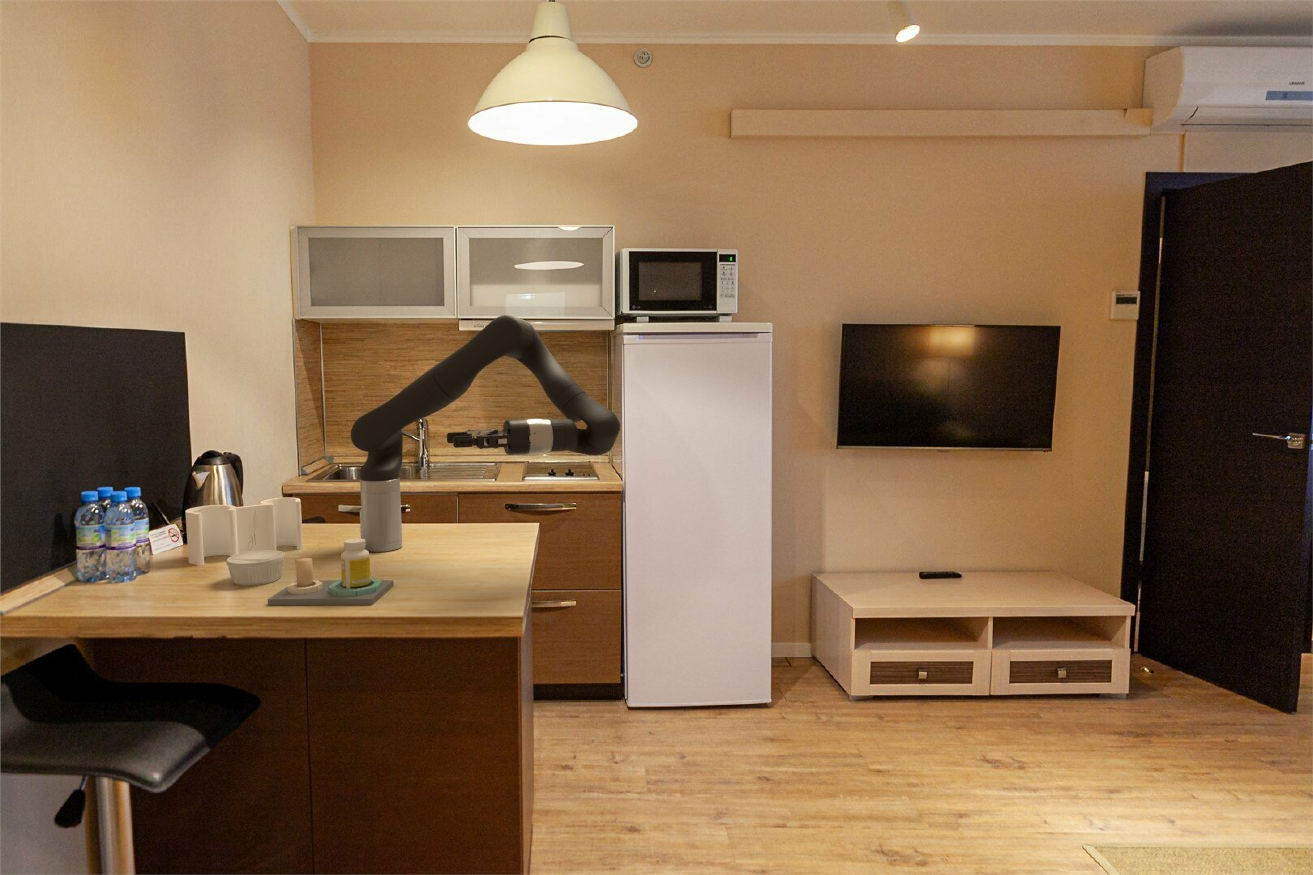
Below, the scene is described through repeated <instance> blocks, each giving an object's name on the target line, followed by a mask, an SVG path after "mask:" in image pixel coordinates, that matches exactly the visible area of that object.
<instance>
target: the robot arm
mask: <svg viewBox="0 0 1313 875" xmlns="http://www.w3.org/2000/svg"><path fill="white" fill-rule="evenodd" d="M502 357H508V358H511V359H515V360H517V361H518V362H519V363H521V364H522V365H523V366H524V367H526V369H528V370H529V371H530V372H531V373H532V374H533V375H534V377H535V378H536V379H537V381H538V383H539V384H540V386H541V388H542V390H543V391H544V393H545V395H546V397H548V399H549V400H550V401H551V403H552V404H553V406H555V407H556V408H557V409H558V411H559V412H560V413H561V414H562V415H563V416H564V417H565V418H519V419H518V418H515V419H506V420H505V421H504V422H503V425H502V430H499V429H498V428H495V427H487V428H475V429H467V430H465V431H456V432H455V431H453V432H452V431H451V432H447V433H446V442H447V443H448V444H452V445H453V447H454V448H455V449H458V448H460V449H461V448H475V449H479V450H483V449H484V450H485V449H499V448H503V449H504V452H505V454H506V455H507V456H520V455H522V456H523V455H536V454H537V455H539V454H545V453H551V452H553V453H554V452H571V453H576V454H583V455H587V456H595V457H597V456H602V455H605V454H607V453H609V452H610V451H611V450H612V449H613V447H614V445H615V443H616V440H617V438H618V436H619V434H620V431H621V424H620V421H619V418H618V417H617V416H616V414H615V412H613V411H612V410H611V409H610V408H608V407H606V406H605V405H603V404H601V403H600V402H598V401H597V400H595V399H593V398H591V397H590V396H589V394H588V393H587V392H586V391H585V390H584V389H583V388H582V387H581V385H579V384H578V382H577V381H575V379H574V378H573V377H572V376H571V375H570V374H569V373H568V372H567V371H566V370H565V369H564V368H563V367H562V365H561V364H560V363H559V362H558V361H557V360H556V358H555V357H554V356H553V355H552V353H551V352H550V350H549V349H548V347H547V346H546V344H545V343H544V341H543V339H542V338H541V336H540V335H539V334H538V332H537V330H536V329H535V328H534V326H533V325H532V324H531V323H530V322H529V321H527V320H524V319H522V318H520V317H518V316H516V315H512V314H502V315H499V316H498V317H495V318H494V319H492V320H491V321H490V322H488V324H487V325H486V326H485V327H484V328H482V329H480V330H479V331H478V333H477V334H476V335H475V336H473V337H472V338H471V339H470V340H468V342H467V343H465V344H464V345H462V346H461V347H459V348H458V349H457V350H455V351H454V352H452V353H451V354H450V355H448V356H447V357H446V358H444V359H443V360H442V361H440V362H438V363H436V364H435V365H434V366H432V367H431V368H430V369H428V370H426V372H424V373H423V374H421V375H420V376H419V377H417V378H416V379H415V380H414V381H412V382H411V383H410V384H408V385H407V386H406V387H404V389H402V390H401V391H399V393H397V394H395V396H393V397H392V398H391V399H389V400H388V401H386V402H384V403H383V404H381V405H379V406H378V407H376V408H374V409H372V410H371V411H368V412H366V413H364V414H363V415H361V416H359V417H358V418H357V419H356V420H355V421H354V423H353V424H352V427H351V430H350V440H351V442H352V444H353V446H354V447H355V448H357V449H358V450H360V451H362V452H365V453H367V458H366V461H365V462H364V464H363V465H362V466H361V467H360V468H359V484H360V485H359V488H360V506H361V507H360V509H359V524H360V525H359V527H360V529H359V530H360V531H359V532H360V539H365V548H364V549H365V550H367V551H368V552H371V553H372V552H375V553H380V552H389V551H396V550H398V549H401V548H402V547H403V533H402V532H403V530H402V527H403V526H402V525H403V524H402V506H401V504H402V502H401V499H402V498H401V475H400V474H401V472H400V471H401V468H402V466H403V454H404V453H403V451H404V450H403V449H404V448H403V446H404V444H403V443H404V442H403V440H404V439H403V429H404V428H406V427H407V426H410V425H411V424H413V423H415V422H417V421H419V420H422V419H424V418H426V417H427V418H428V417H429V416H431V415H433V414H435V413H437V412H439V411H441V410H443V409H444V408H446V407H448V406H450V405H451V404H452V403H454V402H455V401H456V400H458V399H459V398H461V397H462V396H464V394H465V393H466V392H467V391H468V390H469V389H470V387H471V385H472V384H473V383H474V380H475V379H476V377H477V376H478V374H479V373H480V372H481V371H482V370H483V369H485V368H486V367H488V366H489V365H491V364H492V363H493V362H495V361H496V360H497V361H498V360H499V359H501V358H502ZM580 421H581V422H584V423H585V425H586V428H578V426H577V424H576V423H578V422H580Z"/></svg>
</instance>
